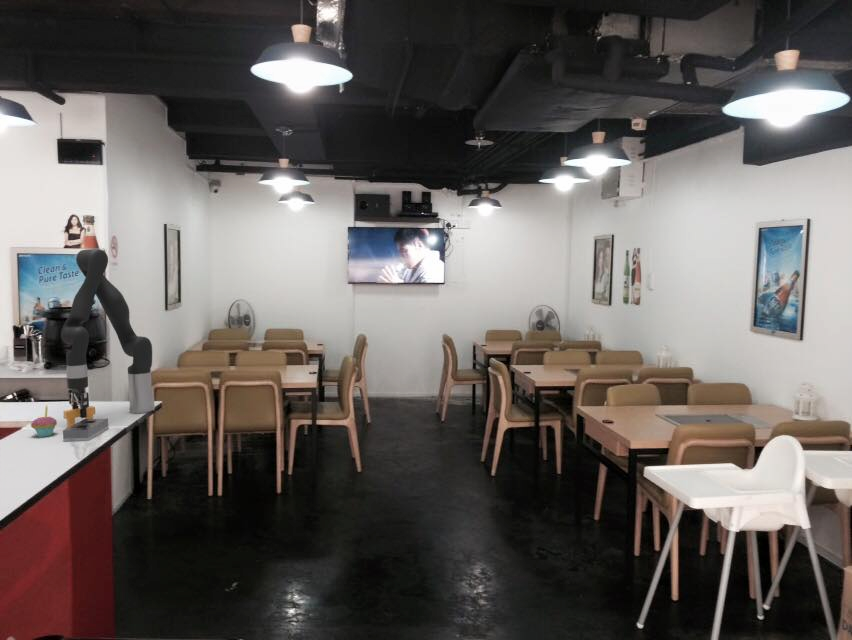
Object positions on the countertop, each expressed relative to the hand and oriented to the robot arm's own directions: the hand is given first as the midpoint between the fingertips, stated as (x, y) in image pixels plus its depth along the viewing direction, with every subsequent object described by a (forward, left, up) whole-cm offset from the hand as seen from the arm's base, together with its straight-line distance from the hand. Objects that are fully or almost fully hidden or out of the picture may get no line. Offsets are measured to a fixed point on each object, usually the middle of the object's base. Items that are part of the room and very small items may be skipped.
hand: (79, 416), depth 267 cm
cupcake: (+15, +4, -4) cm, 16 cm away
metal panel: (+4, +16, -4) cm, 17 cm away
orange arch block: (0, 0, -4) cm, 4 cm away
